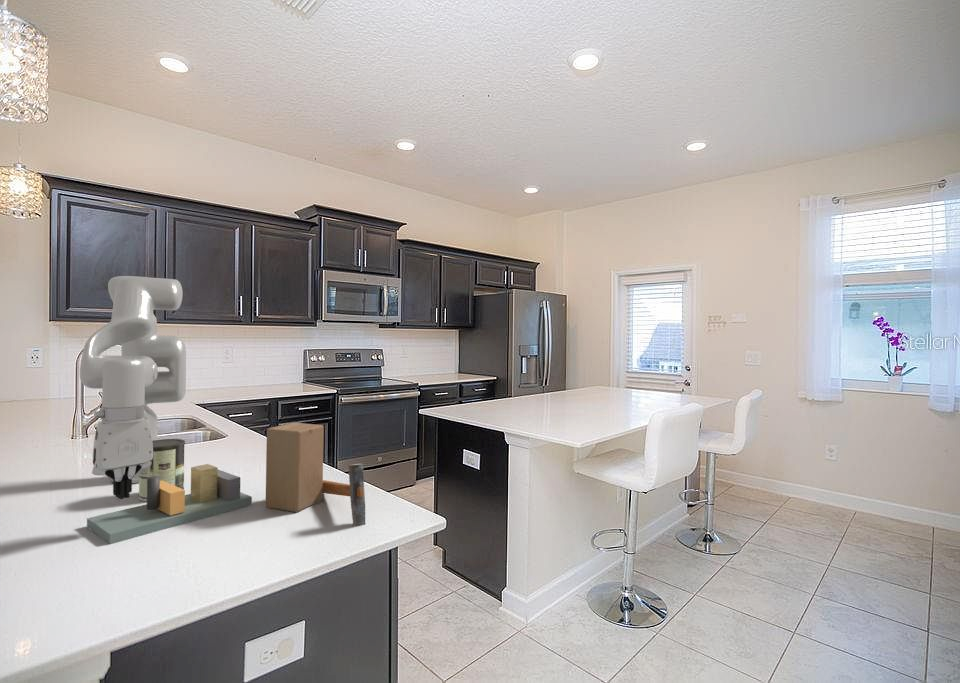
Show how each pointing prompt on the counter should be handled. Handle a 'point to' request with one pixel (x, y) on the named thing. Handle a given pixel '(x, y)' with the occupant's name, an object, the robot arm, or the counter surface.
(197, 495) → the brass block
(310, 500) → the wooden block
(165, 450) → the coffee can
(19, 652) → the counter surface
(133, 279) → the robot arm
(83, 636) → the counter surface
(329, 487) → the hammer
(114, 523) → the vise
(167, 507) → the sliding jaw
